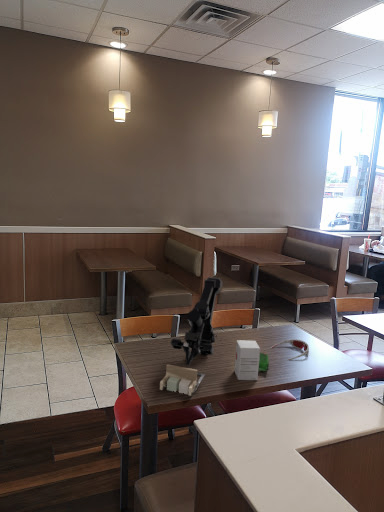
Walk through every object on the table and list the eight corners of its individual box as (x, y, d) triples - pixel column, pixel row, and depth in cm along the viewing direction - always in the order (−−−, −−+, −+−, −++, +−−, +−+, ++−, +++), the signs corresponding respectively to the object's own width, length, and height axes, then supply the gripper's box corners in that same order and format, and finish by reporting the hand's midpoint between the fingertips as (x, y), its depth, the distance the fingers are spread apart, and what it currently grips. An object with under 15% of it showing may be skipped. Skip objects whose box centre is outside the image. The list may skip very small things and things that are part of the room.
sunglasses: (316, 357, 202) (315, 348, 201) (288, 366, 196) (287, 357, 195) (295, 344, 218) (294, 335, 217) (268, 352, 212) (268, 344, 211)
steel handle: (176, 370, 180) (176, 369, 180) (204, 375, 176) (204, 374, 176) (164, 386, 165) (164, 385, 165) (194, 392, 161) (194, 391, 161)
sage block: (170, 385, 166) (170, 376, 165) (179, 387, 165) (179, 378, 164) (166, 390, 162) (167, 381, 161) (176, 392, 161) (176, 383, 160)
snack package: (252, 374, 180) (253, 363, 179) (252, 359, 196) (253, 349, 195) (268, 376, 179) (269, 365, 178) (267, 361, 194) (268, 351, 194)
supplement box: (233, 370, 182) (236, 339, 180) (253, 371, 183) (255, 340, 180) (237, 380, 173) (240, 347, 171) (257, 380, 174) (260, 348, 171)
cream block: (181, 388, 164) (182, 379, 164) (190, 389, 163) (191, 380, 163) (178, 392, 161) (178, 383, 160) (187, 394, 160) (188, 385, 159)
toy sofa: (165, 381, 167) (166, 364, 166) (197, 387, 164) (198, 370, 162) (158, 390, 160) (159, 372, 159) (191, 397, 156) (192, 378, 155)
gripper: (172, 320, 176) (162, 354, 168) (213, 327, 171) (205, 361, 163) (177, 331, 185) (168, 363, 177) (216, 337, 180) (209, 371, 172)
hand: (187, 364), depth 172 cm, fingers closed
